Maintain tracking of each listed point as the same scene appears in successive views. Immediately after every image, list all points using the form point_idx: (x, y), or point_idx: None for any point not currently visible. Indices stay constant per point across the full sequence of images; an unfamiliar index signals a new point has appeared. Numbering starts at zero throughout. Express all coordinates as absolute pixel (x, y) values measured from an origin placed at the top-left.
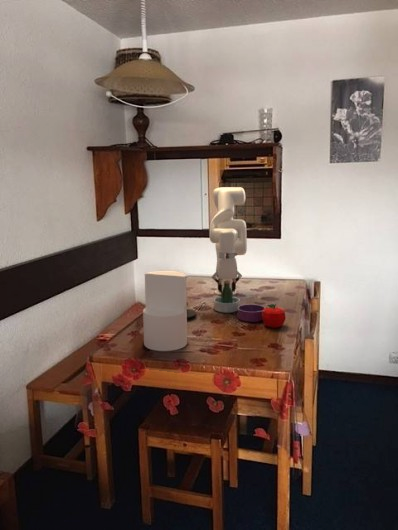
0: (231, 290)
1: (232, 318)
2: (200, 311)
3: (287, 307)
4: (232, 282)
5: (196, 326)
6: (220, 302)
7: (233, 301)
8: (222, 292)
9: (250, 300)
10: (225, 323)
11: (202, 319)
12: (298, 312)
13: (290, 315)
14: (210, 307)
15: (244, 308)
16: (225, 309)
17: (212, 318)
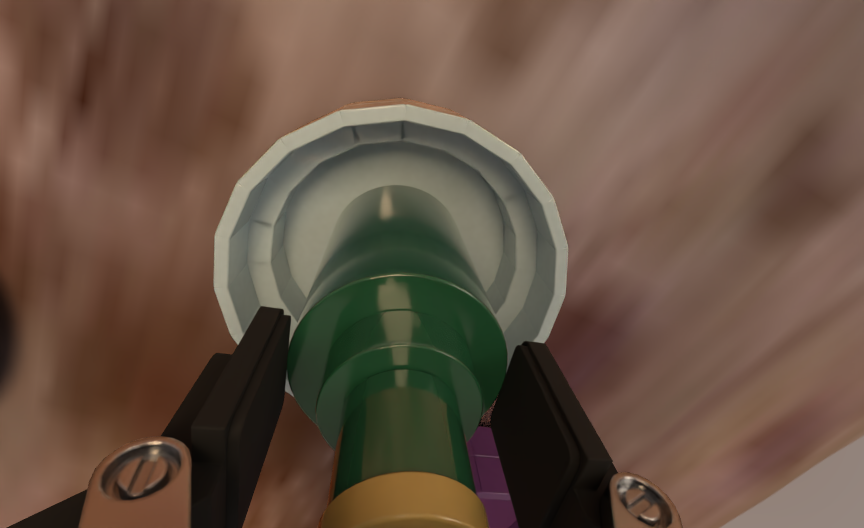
0: (488, 377)
1: (329, 457)
2: (85, 189)
3: (849, 380)
4: (589, 472)
5: (3, 517)
6: (366, 143)
7: (526, 201)
8: (297, 395)
9: (844, 25)
10: None
11: (73, 411)
12: (790, 481)
13: (701, 508)
14: (248, 84)
15: None
16: None
17: (170, 415)
